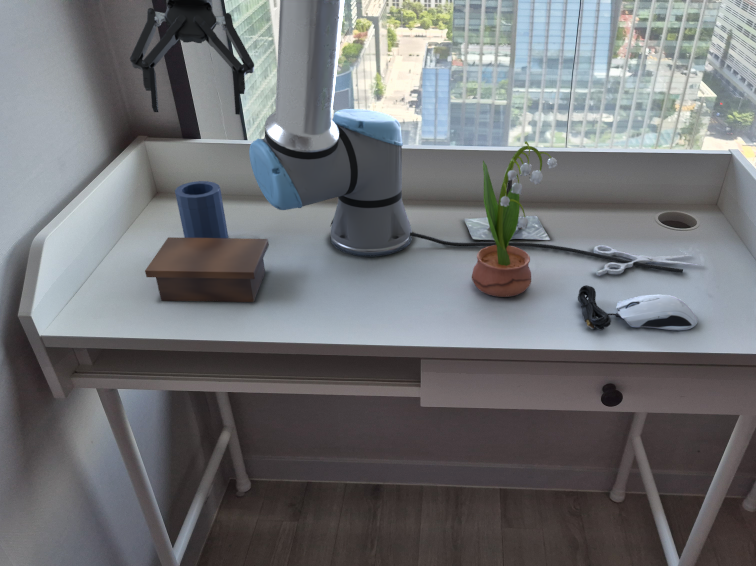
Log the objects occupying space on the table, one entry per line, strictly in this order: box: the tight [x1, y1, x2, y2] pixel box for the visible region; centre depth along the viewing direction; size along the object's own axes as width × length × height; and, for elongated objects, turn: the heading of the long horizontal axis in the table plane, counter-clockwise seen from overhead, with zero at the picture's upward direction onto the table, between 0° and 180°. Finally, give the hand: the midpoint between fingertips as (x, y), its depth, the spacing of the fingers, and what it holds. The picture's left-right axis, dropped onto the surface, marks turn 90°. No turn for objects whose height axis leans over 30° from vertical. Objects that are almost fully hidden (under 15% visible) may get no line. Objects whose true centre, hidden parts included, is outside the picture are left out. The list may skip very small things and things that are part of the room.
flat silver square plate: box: [463, 179, 551, 241], centre depth 131 cm, size 15×10×13 cm
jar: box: [174, 180, 229, 238], centre depth 125 cm, size 8×8×11 cm
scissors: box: [593, 245, 700, 277], centre depth 125 cm, size 11×1×20 cm
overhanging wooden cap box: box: [144, 236, 270, 303], centre depth 114 cm, size 17×12×6 cm
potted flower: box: [471, 140, 559, 298], centre depth 110 cm, size 12×10×25 cm
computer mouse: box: [577, 284, 699, 331], centre depth 108 cm, size 10×18×4 cm, turn 88°
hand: (197, 111), depth 120 cm, fingers open, 13 cm apart
